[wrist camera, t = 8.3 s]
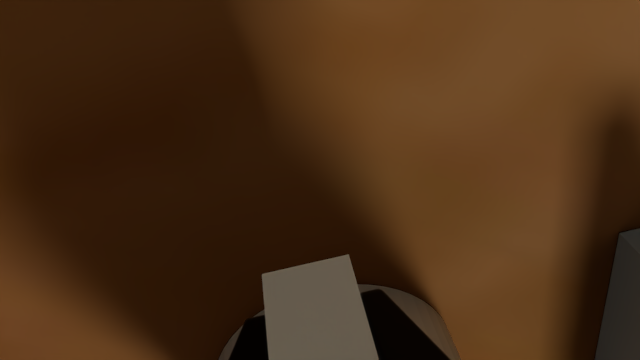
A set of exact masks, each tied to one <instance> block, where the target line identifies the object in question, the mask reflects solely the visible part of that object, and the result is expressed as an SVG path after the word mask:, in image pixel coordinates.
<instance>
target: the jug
mask: <svg viewBox="0 0 640 360" xmlns="http://www.w3.org/2000/svg"><path fill="white" fill-rule="evenodd" d="M262 284H263V296H264V308H265V309H264V310H263V311H261V312H259V313H258V314H256V315H255V316H260V315H264V314H265V320H266V332H267V345H268V357H269V360H379V358H378V355H377V351H376V348H375V344H374V341H373V337H372V334H371V330H370V327H369V323H368V320H367V316H366V313H365V309H364V306H363V302H362V299H361V295H360V293H361V292H365V291H369V290H373V289H381V290H383V291H384V292H385V293H386V294H387V295H388V296H389V297H390V298H391V299H392V300H393V301H394V302H395V303H396V304H397V305H398V306H399V307H400V308H401V309H402V310H403V311H404V312H405V313H406V314H407V315H408V316H409V317H410V318H411V319H412V320H413V321H414V322H415V324H416V325H417V326H418V327H419V328H420V329H421V330H422V331H423V332H424V333H425V334H426V335H427V336H428V337H429V338H430V339H431V340H432V341H433V342H434V343H435V344H436V345H437V346H438V347H439V348H440V349H441V350H442V351H443V352H444V353H445V354H446V355H447V356H448V357H449V358H450V359H451V360H461V358H460V355H459V353H458V351H457V349H456V346H455V344H454V342H453V340H452V337H451V335H450V333H449V330H448V328H447V326H446V324H445V322H444V321H443V319H442V318H441V316H440V315H439V314H438V313H437V312H436V311H435V310H434V309H433V308H432V307H431V306H430V305H428V304H427V303H426V302H424V301H423V300H421V299H419V298H417V297H415V296H413V295H411V294H409V293H406V292H403V291H401V290H397V289H393V288H389V287H385V286H377V285H368V284H357V281H356V278H355V274H354V271H353V267H352V264H351V260H350V257H349V254H347V255H343V256H339V257H334V258H330V259H325V260H321V261H317V262H312V263H308V264H304V265H299V266H295V267H290V268H286V269H282V270H277V271H273V272H268V273H264V274H262ZM255 316H253V317H255ZM242 327H243V325H242V326H241V327H240V328H239V329H238V330H237V332H236V333H235V334H234V335H233V336H232V337H231V338H230V340H229V341H228V343H227V344H226V345H225V347H224V349H223V351H222V353H221V355H220V357H219V360H228V359H229V357H230V354H231V352H232V350H233V347H234V345H235V343H236V341H237V338H238V336H239V334H240V331H241V329H242Z"/></svg>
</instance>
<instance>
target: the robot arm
mask: <svg viewBox="0 0 640 360" xmlns="http://www.w3.org/2000/svg"><path fill="white" fill-rule="evenodd" d="M360 295H361V299H362V302H363V306H364V309H365V313H366V316H367V320H368V323H369V327H370V330H371V334H372V337H373V341H374V344H375V348H376V351H377V355H378V358H379V360H451V359H450V358H449V357H448V356H447V355H446V354H445V353H444V352H443V351H442V350H441V349H440V348H439V347H438V346H437V345H436V344H435V343H434V342H433V341H432V340H431V339H430V338H429V337H428V336H427V335H426V334H425V333H424V332H423V331H422V330H421V329H420V328H419V327H418V326H417V325H416V324H415V322H414V321H413V320H412V319H411V318H410V317H409V316H408V315H407V314H406V313H405V312H404V311H403V310H402V309H401V308H400V307H399V306H398V305H397V304H396V303H395V302H394V301H393V300H392V299H391V298H390V297H389V296H388V295H387V294H386V293H385V292H384V291H383V290H381V289H373V290H369V291H365V292H361V293H360ZM228 360H269V357H268V345H267V332H266V320H265V314H264V315H260V316H255V317H251V318H248V319H247V320H246V321H245V322H244V324H243V327H242V329H241V331H240V334H239V336H238V338H237V341H236V343H235V345H234V347H233V350H232V352H231V354H230V357H229V359H228Z"/></svg>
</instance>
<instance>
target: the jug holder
mask: <svg viewBox="0 0 640 360" xmlns="http://www.w3.org/2000/svg"><path fill="white" fill-rule="evenodd" d="M595 360H640V228H639V229H635V230H630V231H626V232H622V233H619V238H618V243H617V248H616V253H615V258H614V263H613V268H612V273H611V278H610V283H609V289H608V294H607V299H606V304H605V309H604V314H603V319H602V324H601V329H600V335H599V340H598V345H597V350H596V355H595Z"/></svg>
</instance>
